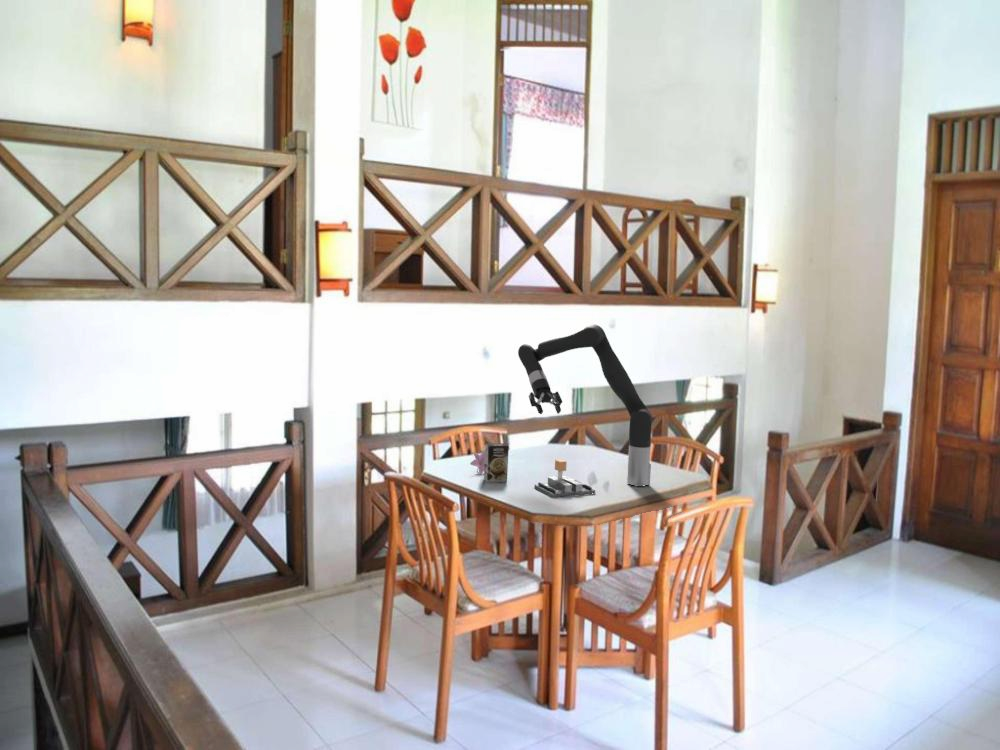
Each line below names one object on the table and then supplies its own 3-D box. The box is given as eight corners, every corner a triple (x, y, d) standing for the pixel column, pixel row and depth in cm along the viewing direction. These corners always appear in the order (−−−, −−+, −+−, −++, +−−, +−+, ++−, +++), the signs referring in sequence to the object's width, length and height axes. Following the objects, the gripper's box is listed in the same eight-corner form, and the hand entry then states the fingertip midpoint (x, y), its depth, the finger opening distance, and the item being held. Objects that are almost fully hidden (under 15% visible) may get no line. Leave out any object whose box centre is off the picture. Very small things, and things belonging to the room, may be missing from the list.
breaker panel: (575, 484, 356) (576, 474, 356) (595, 493, 342) (595, 483, 341) (534, 488, 348) (534, 477, 347) (552, 497, 333) (553, 486, 333)
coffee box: (487, 482, 354) (488, 445, 352) (483, 479, 360) (484, 442, 358) (507, 482, 356) (509, 445, 354) (503, 478, 362) (505, 442, 360)
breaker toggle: (560, 482, 351) (561, 459, 350) (565, 484, 347) (566, 461, 346) (554, 483, 349) (555, 459, 348) (558, 485, 346) (559, 461, 345)
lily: (465, 476, 369) (473, 460, 364) (465, 461, 379) (473, 444, 375) (490, 484, 371) (498, 468, 367) (489, 468, 381) (497, 452, 377)
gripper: (527, 378, 358) (538, 408, 349) (556, 377, 364) (568, 407, 355) (521, 388, 363) (532, 418, 354) (550, 387, 369) (561, 417, 360)
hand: (550, 412), depth 355 cm, fingers open, 8 cm apart
